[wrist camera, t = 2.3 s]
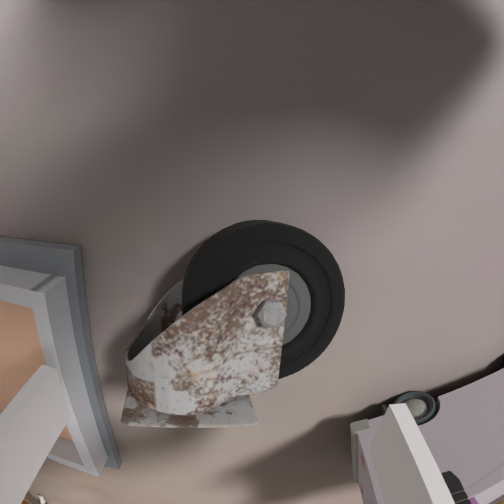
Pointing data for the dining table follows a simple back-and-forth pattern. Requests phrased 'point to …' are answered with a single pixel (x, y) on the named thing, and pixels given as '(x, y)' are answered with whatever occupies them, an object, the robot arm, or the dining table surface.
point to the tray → (53, 345)
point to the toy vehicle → (447, 439)
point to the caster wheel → (233, 327)
